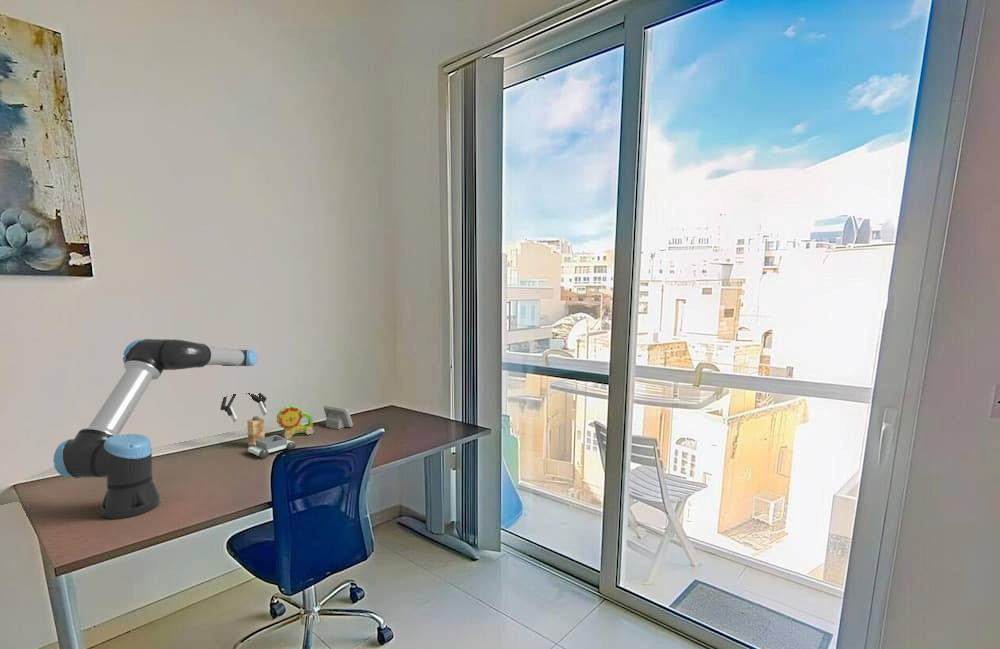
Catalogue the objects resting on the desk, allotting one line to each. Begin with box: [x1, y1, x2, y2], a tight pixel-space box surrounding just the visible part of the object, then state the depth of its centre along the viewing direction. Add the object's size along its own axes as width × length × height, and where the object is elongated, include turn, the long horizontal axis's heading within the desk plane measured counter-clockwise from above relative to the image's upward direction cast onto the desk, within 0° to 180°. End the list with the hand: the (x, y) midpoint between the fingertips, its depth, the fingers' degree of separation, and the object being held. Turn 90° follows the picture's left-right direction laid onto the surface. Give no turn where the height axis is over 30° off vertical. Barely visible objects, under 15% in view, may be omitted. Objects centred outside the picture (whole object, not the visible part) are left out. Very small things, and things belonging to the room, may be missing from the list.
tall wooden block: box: [247, 415, 266, 447], centre depth 213 cm, size 5×5×13 cm
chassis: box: [246, 434, 296, 459], centre depth 206 cm, size 16×11×6 cm
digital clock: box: [323, 405, 354, 430], centre depth 243 cm, size 16×9×11 cm, turn 52°
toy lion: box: [276, 405, 314, 440], centre depth 227 cm, size 16×5×15 cm, turn 128°
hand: (250, 417), depth 218 cm, fingers open, 13 cm apart
